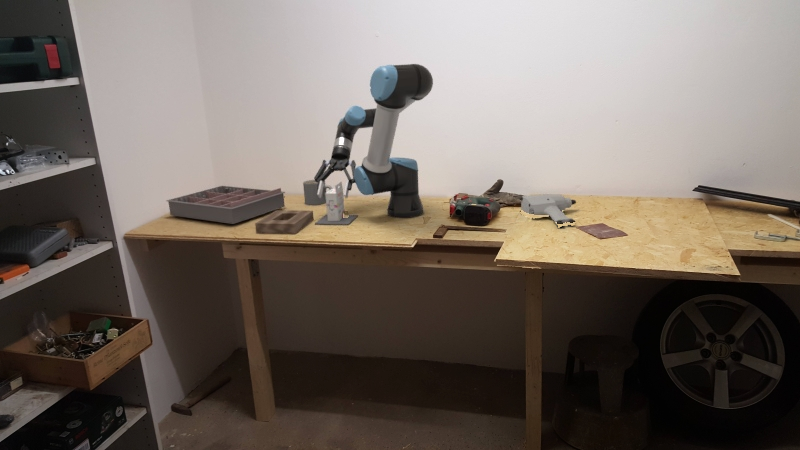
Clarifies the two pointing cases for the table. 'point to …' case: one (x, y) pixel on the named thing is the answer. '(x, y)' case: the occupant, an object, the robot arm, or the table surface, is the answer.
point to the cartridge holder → (284, 222)
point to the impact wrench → (548, 206)
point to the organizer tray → (227, 204)
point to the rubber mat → (342, 222)
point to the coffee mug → (314, 193)
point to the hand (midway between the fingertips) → (332, 196)
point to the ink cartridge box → (335, 203)
